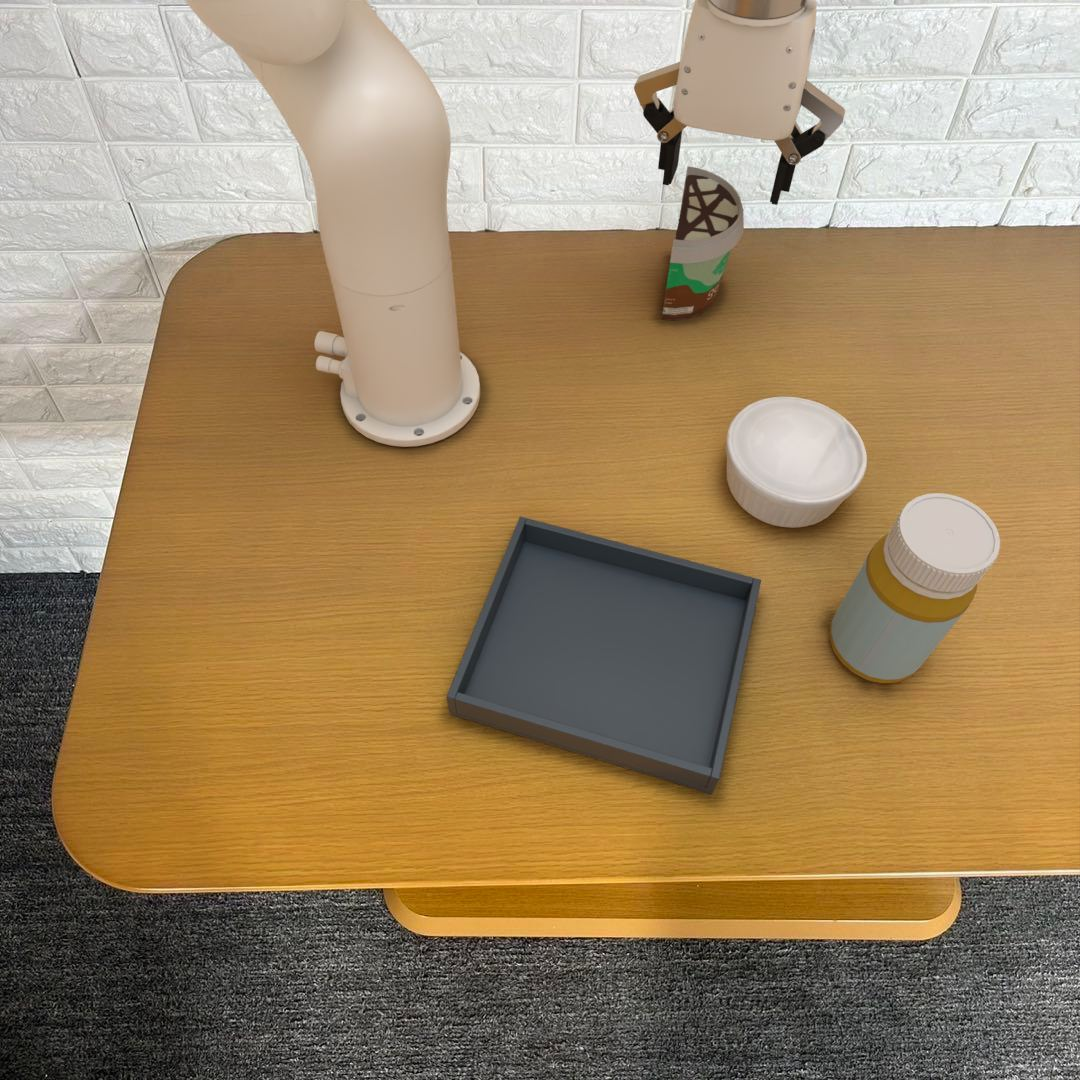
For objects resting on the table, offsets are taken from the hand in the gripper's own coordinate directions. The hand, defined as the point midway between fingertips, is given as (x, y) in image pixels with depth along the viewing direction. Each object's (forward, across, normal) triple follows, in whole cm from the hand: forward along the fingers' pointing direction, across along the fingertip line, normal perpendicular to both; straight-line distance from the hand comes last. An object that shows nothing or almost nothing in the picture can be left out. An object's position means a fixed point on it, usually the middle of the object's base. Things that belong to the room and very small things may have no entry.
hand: (722, 185), depth 81 cm
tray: (+11, -2, +42) cm, 44 cm away
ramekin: (+12, -12, +22) cm, 28 cm away
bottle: (+12, -20, +36) cm, 43 cm away
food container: (+12, 0, 0) cm, 12 cm away
